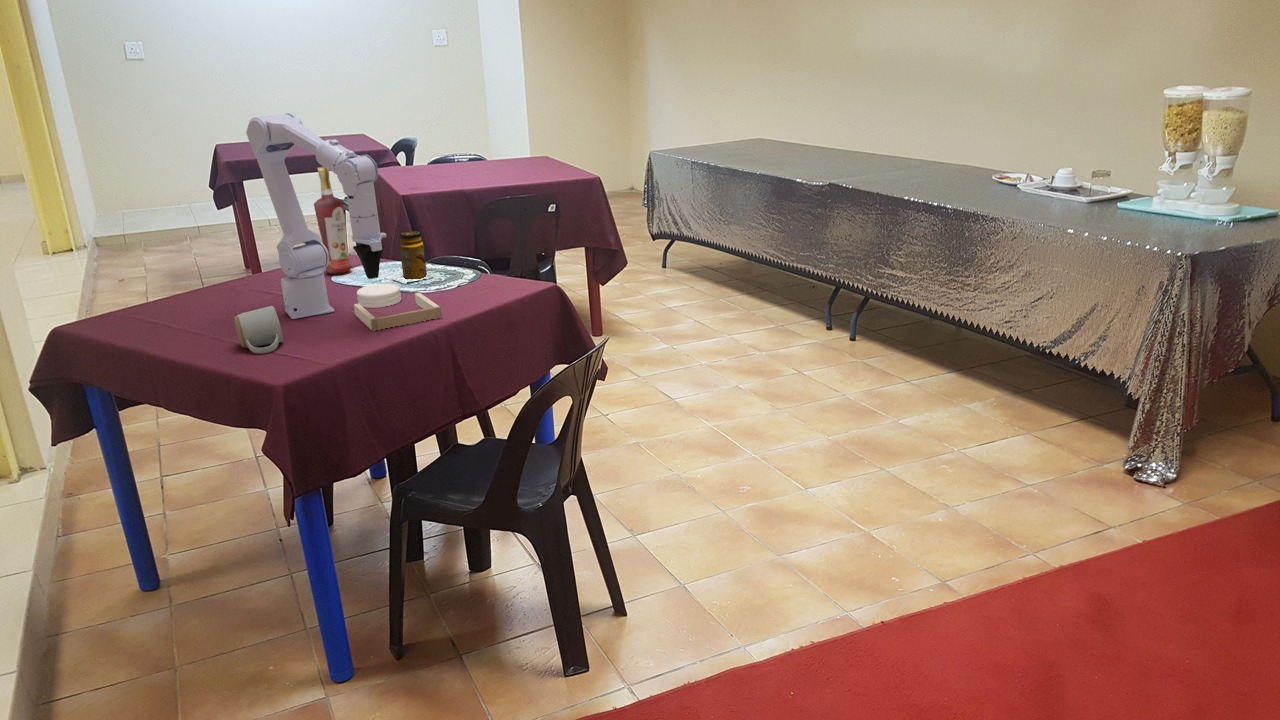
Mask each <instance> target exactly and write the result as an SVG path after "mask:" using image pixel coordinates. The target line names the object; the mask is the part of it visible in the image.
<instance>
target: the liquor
mask: <svg viewBox="0 0 1280 720" xmlns="http://www.w3.org/2000/svg"><path fill="white" fill-rule="evenodd" d="M317 175H318V177H319V179H320V194H321V197H320V198H319V199H317V200H315V202H314V203H313V207H314V212H315V217H316V221H317V226H318V230H319V236H320V238H321V241H322V243H323V244H324V246H325V247H326V248H327V250H328V253H329V263H328V265H327V266H326V271H325V272H328V273H329V274H330V275H332V276H339V275H340V274H341V275H346V274H348V273H349V272H350V271H351V269H352V268H353V266H352V264H351V263H350V256H349V255H350V254H349V248H348V247H349V246H348V238H347V237H348V236H347V227H346V216H345V211H344V210H345V209H344V208H345V207H344V201H343V200H342V199H340V198H338V197H335V196H334V193H333V189H332V185H331V180H330V170H329V169H327V168H325V167H324V166H319V167H317ZM345 273H346V274H345ZM341 275H340V276H341Z"/></svg>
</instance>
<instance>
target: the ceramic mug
mask: <svg viewBox="0 0 1280 720" xmlns="http://www.w3.org/2000/svg"><path fill="white" fill-rule="evenodd" d="M233 321H234V326H235V332H236V334H237V338H238V340H239V343H240V347H242V348H243V349H244V348H245V349H249V350H250V351H251V352H252V353H255V354H258V355H259V354H261V355H262V354H264V355H265V354H269V353H271V352H273V351H275V350H276V349H277V348H278V346H279V343H282V342H283V332H282V328H281V323H280V320H279V317H278V314H277V311H276V309H275V306H273V305H269V306H266V307H262V308H257V309H254V310H249V311H244V312H242V313H240V314H239V313H238V314H237V315H235V316H234V318H233ZM267 345H269V346H267ZM260 346H264V347H260Z"/></svg>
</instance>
